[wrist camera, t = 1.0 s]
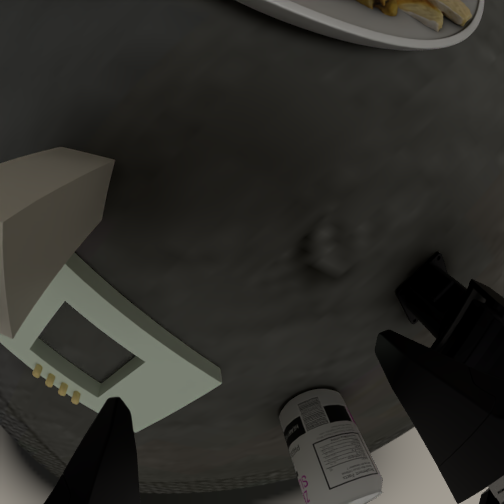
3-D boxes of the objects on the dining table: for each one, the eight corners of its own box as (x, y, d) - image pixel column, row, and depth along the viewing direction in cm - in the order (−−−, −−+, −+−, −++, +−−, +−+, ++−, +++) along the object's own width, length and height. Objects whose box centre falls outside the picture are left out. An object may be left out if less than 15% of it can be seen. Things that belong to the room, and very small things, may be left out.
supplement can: (349, 397, 33) (396, 488, 20) (300, 428, 35) (333, 518, 21) (320, 376, 30) (372, 489, 17) (264, 412, 31) (295, 522, 18)
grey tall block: (115, 159, 17) (-9, 229, 5) (101, 220, 19) (6, 349, 7) (54, 145, 16) (-92, 195, 4) (44, 204, 17) (-76, 303, 5)
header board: (220, 368, 27) (223, 393, 24) (136, 419, 29) (135, 440, 26) (32, 208, 17) (11, 222, 14) (-17, 306, 19) (-31, 324, 16)
